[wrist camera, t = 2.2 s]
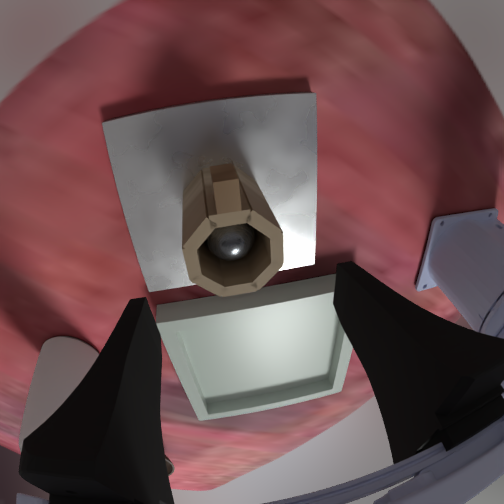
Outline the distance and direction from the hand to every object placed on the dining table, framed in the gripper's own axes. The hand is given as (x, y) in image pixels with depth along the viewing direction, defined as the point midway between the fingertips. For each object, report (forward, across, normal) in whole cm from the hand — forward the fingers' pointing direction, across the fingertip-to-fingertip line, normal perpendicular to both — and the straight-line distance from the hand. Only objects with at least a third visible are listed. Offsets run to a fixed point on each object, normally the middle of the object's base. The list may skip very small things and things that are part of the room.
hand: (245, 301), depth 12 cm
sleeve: (+9, 0, 0) cm, 9 cm away
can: (+10, +16, +13) cm, 23 cm away
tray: (+10, -2, +16) cm, 19 cm away
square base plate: (+10, 0, 0) cm, 10 cm away
